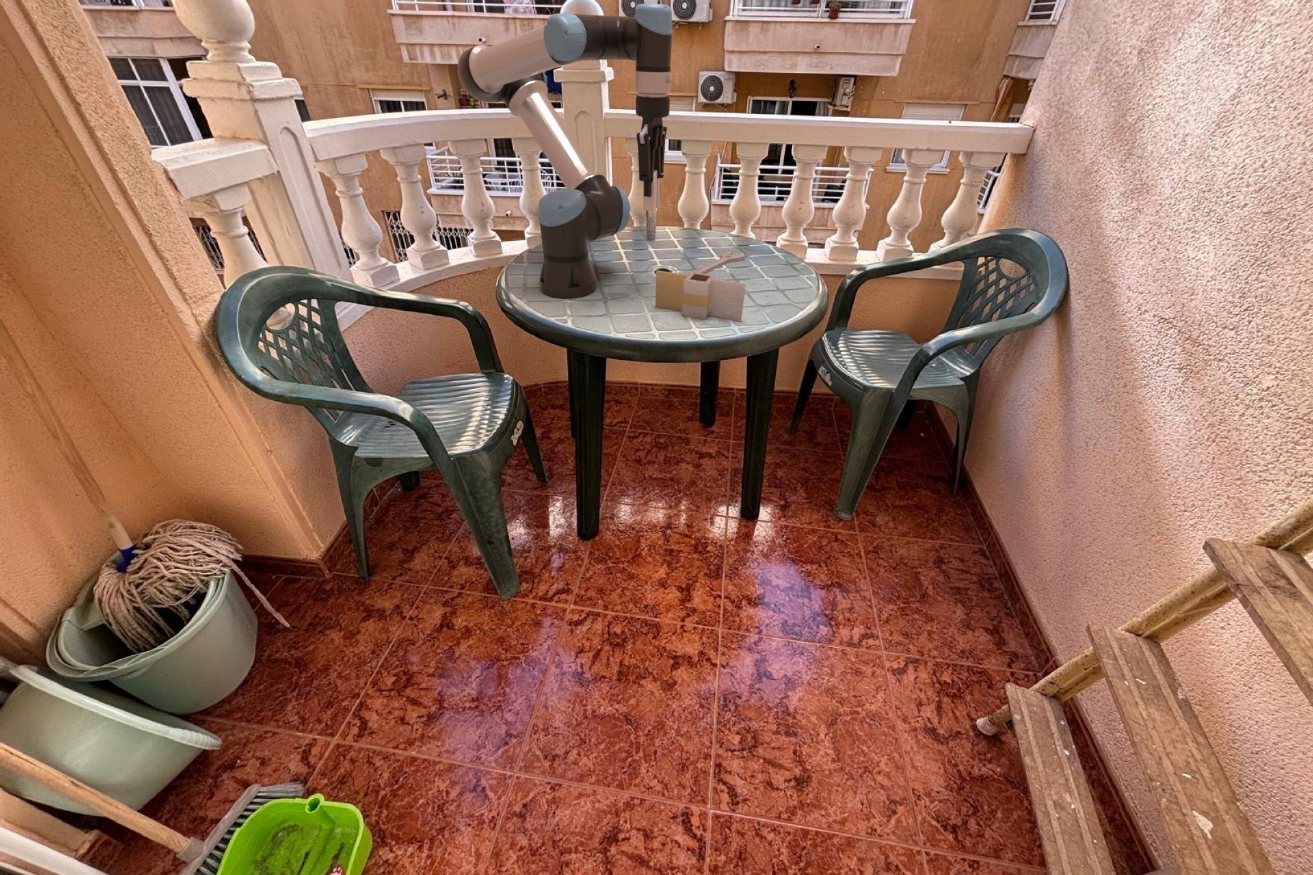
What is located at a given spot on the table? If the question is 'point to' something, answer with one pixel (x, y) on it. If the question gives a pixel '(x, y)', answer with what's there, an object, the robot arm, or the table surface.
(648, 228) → the hinge pin
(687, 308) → the hinge
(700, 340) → the table surface
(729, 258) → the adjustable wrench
